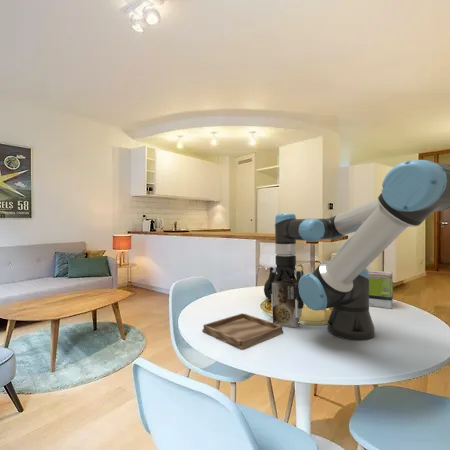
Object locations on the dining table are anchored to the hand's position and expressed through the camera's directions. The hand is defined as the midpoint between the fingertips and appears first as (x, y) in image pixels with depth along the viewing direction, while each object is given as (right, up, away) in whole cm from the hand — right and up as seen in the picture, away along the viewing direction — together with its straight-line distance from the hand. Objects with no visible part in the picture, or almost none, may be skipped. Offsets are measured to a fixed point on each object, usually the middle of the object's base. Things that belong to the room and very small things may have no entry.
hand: (286, 313), depth 113 cm
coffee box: (0, -4, 0) cm, 4 cm away
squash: (+4, -3, +32) cm, 33 cm away
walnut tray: (-17, -4, -8) cm, 19 cm away
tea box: (+45, -3, +24) cm, 51 cm away
